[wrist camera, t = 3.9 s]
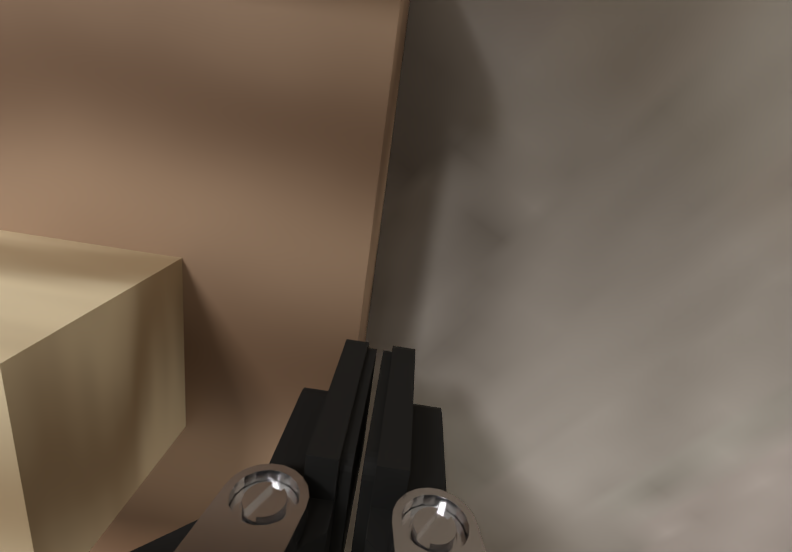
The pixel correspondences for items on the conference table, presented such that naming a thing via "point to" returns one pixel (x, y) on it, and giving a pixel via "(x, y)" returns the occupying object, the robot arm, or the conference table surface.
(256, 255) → the box
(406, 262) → the conference table surface
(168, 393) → the maple block
